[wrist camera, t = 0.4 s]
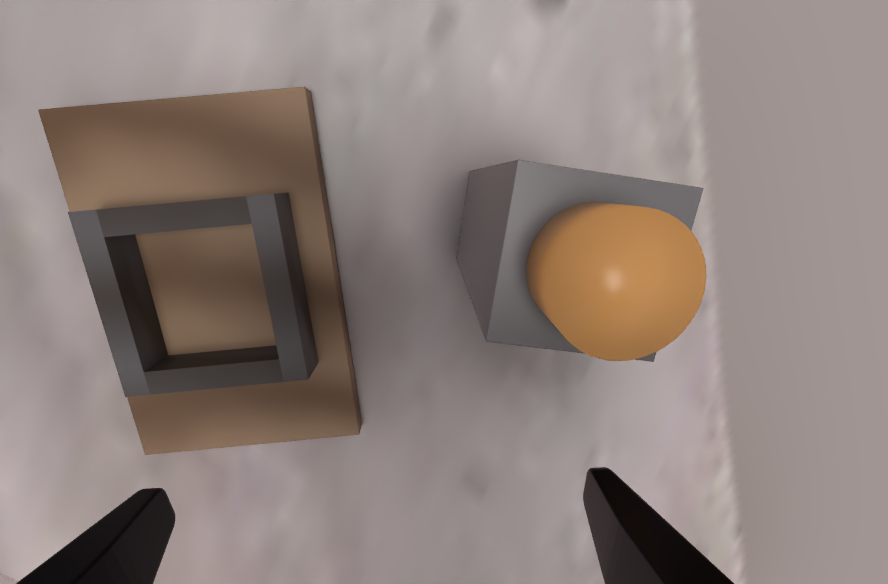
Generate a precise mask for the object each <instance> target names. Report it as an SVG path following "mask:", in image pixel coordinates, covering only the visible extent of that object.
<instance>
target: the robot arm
mask: <svg viewBox="0 0 888 584" xmlns="http://www.w3.org/2000/svg"><path fill="white" fill-rule="evenodd" d="M583 500H584V506H585V510H586V514H587V517H588V521H589V525H590V529H591V533H592V537H593V540H594V544H595V548H596V552H597V556H598V559H599V563H600V567H601V571H602V574H603V578H604V581H605V584H734V583H733V582H732V581H731V580H730V579H729V578H728V577H726V576H725V575H724V574H723V573H722V572H721V571H720V570H719V569H718V568H717V567H716V566H715V565H713V564H712V563H711V562H710V561H709V560H708V559H707V558H706V557H705V556H704V555H703V554H702V553H700V552H699V551H698V550H697V549H696V548H695V547H694V546H693V545H692V544H691V543H690V542H688V541H687V540H686V539H685V538H684V537H683V536H682V535H681V534H680V533H679V532H678V531H677V530H675V529H674V528H673V527H672V526H671V525H670V524H669V523H668V522H667V521H666V520H665V519H664V518H662V517H661V516H660V515H659V514H658V513H657V512H656V511H655V510H654V509H653V508H652V507H651V506H649V505H648V504H647V503H646V502H645V501H644V500H643V499H642V498H641V497H640V496H639V495H638V494H636V493H635V492H634V491H633V490H632V489H631V488H630V487H629V486H628V485H627V484H626V483H625V482H623V481H622V480H621V479H620V478H619V477H618V476H617V475H616V474H615V473H614V472H613V471H612V470H610V469H609V468H606V467H599V468H590V469H589V470H588V472H587V476H586V482H585V488H584V493H583ZM174 524H175V513H174V510H173V508H172V505H171V503H170V501H169V498H168V496H167V494H166V492H165V490H163V489H162V488H150V489H142V490H140V491H138V492H136V493H135V494H134V495H132V496H131V497H130V498H128V499H127V500H126V501H124V502H123V503H122V504H120V505H119V506H118V507H116V508H115V509H114V510H113V511H111V512H110V513H109V514H107V515H106V516H105V517H103V518H102V519H101V520H99V521H98V522H97V523H95V524H94V525H93V526H91V527H90V528H89V529H87V530H86V531H85V532H83V533H82V534H81V535H80V536H78V537H77V538H76V539H74V540H73V541H72V542H70V543H69V544H68V545H66V546H65V547H64V548H62V549H61V550H60V551H58V552H57V553H56V554H54V555H53V556H52V557H50V558H49V559H48V560H47V561H45V562H44V563H43V564H41V565H40V566H39V567H37V568H36V569H35V570H33V571H32V572H31V573H29V574H28V575H27V576H25V577H24V578H23V579H21V580H20V581H19V582H17V583H16V584H153V582H154V579H155V577H156V574H157V571H158V568H159V566H160V563H161V560H162V558H163V555H164V552H165V549H166V547H167V544H168V541H169V538H170V536H171V533H172V530H173V528H174Z"/></svg>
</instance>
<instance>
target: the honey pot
mask: <svg viewBox="0 0 888 584" xmlns="http://www.w3.org/2000/svg"><path fill="white" fill-rule="evenodd" d="M16 583H17V581H15V580H14V579H11V578H9V577H7V576H4V575H2V574H0V584H16Z"/></svg>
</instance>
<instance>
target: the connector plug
mask: <svg viewBox="0 0 888 584" xmlns="http://www.w3.org/2000/svg"><path fill="white" fill-rule="evenodd" d="M702 191H703V188H700V187H693V186H687V185H680V184H673V183H667V182H660V181H654V180H647V179H641V178H634V177H627V176H621V175H614V174H608V173H601V172H595V171H588V170H582V169H575V168H568V167H562V166H555V165H549V164H542V163H536V162H529V161H523V160H516V161H512V162H507V163H503V164H499V165H495V166H490V167H486V168H482V169H477V170H473V171H470V172H469V179H468V185H467V192H466V198H465V205H464V212H463V218H462V225H461V232H460V238H459V245H458V251H457V258H456V259H457V261H458V264H459V267H460V270H461V273H462V275H463V278H464V281H465V284H466V286H467V289H468V292H469V295H470V298H471V300H472V303H473V306H474V309H475V312H476V314H477V317H478V320H479V323H480V325H481V328H482V331H483V334H484V337H485V339H486V342H495V343H503V344H511V345H519V346H528V347H536V348H544V349H552V350H561V351H569V352H577V353H585V354H588V355H590V356H593V357H596V358H599V359H604V360H610V361H626V360H633V359H635V360H643V361H652V362H654V359H655V355H656V352H657V351H658V350H660V349H662V348H664V347H665V346H667V345H668V344H669V343H671V342H672V341H674V340H675V339H676V338H677V337H678V336H679V335H680V334H681V333H682V332H683V331H684V330H685V329H686V327H687V326H688V325H689V324H690V322H691V321H692V319H693V318H694V316H695V314H696V312H697V310H698V308H699V306H700V304H701V301H702V298H703V294H704V290H705V284H706V265H705V259H704V255H703V252H702V249H701V247H700V245H699V243H698V240H697V239H696V237H695V236H694V234H693V233H692V232H691V230H692V226H693V223H694V219H695V216H696V212H697V209H698V205H699V202H700V198H701V195H702Z"/></svg>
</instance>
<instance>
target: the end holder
mask: <svg viewBox="0 0 888 584" xmlns="http://www.w3.org/2000/svg"><path fill="white" fill-rule="evenodd" d="M38 111H39V114H40V117H41V121H42V124H43V127H44V130H45V133H46V137H47V140H48V143H49V146H50V150H51V153H52V156H53V159H54V162H55V166H56V169H57V172H58V175H59V179H60V182H61V185H62V188H63V191H64V195H65V198H66V201H67V204H68V208H69V211H70V212H68V214H69V217H70V220H71V224H72V227H73V230H74V233H75V237H76V240H77V243H78V246H79V249H80V253H81V256H82V259H83V262H84V265H85V269H86V272H87V275H88V278H89V281H90V285H91V288H92V291H93V294H94V298H95V301H96V304H97V307H98V310H99V314H100V317H101V320H102V323H103V326H104V330H105V333H106V336H107V339H108V343H109V346H110V349H111V352H112V355H113V359H114V362H115V365H116V368H117V371H118V375H119V378H120V381H121V384H122V388H123V391H124V394H125V397H127V398H128V401H129V404H130V408H131V411H132V414H133V417H134V420H135V424H136V427H137V430H138V433H139V437H140V440H141V443H142V446H143V449H144V453H145V455H150V454H160V453H171V452H181V451H191V450H202V449H212V448H223V447H233V446H243V445H254V444H264V443H275V442H285V441H295V440H306V439H316V438H327V437H337V436H348V435H358V434H359V433H360V429H361V426H362V422H361V416H360V409H359V403H358V396H357V390H356V383H355V377H354V370H353V364H352V357H351V351H350V344H349V338H348V331H347V325H346V318H345V312H344V305H343V299H342V292H341V286H340V279H339V273H338V266H337V260H336V253H335V247H334V240H333V234H332V227H331V221H330V214H329V208H328V201H327V195H326V188H325V182H324V175H323V169H322V162H321V156H320V149H319V143H318V136H317V130H316V123H315V117H314V110H313V104H312V97H311V91H310V90H308V89H307V88H306V87H296V88H285V89H273V90H262V91H250V92H238V93H227V94H215V95H203V96H192V97H180V98H168V99H157V100H145V101H134V102H122V103H110V104H99V105H87V106H75V107H64V108H52V109H40V110H38Z"/></svg>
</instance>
